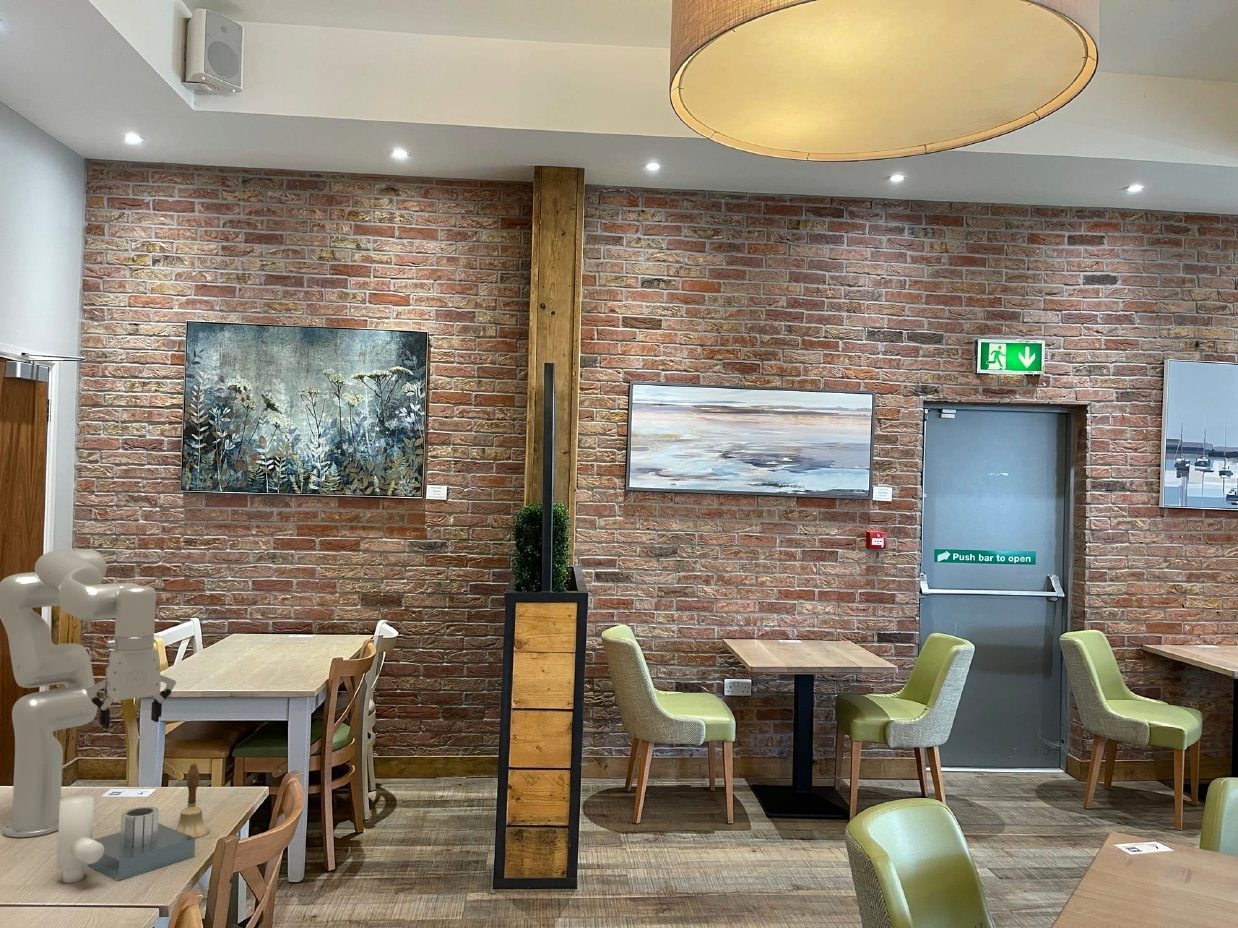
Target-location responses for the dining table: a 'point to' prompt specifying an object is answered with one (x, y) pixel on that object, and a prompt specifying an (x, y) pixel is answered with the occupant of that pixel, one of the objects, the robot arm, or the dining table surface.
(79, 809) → the white tall branched piece
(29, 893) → the dining table surface
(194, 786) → the hand bell
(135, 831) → the vent box
